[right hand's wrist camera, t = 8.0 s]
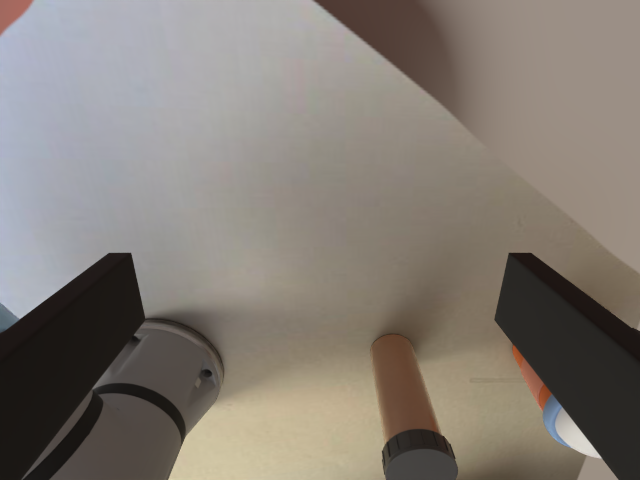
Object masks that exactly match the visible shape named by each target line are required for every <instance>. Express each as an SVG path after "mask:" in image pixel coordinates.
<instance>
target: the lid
mask: <svg viewBox="0 0 640 480" xmlns="http://www.w3.org/2000/svg"><path fill="white" fill-rule="evenodd" d="M382 457H383V459H382V462H383V469H384V475H385V477H386V480H456V478H457V474H458V467H457V464H456V461H455V456H454V453H453V450H452V447H451V444H449V442H448V441H447V440H446V438H445V437H444V436H442V435H441V434H439V433H437V432H435V431H432V430H428V429H410V430H406V431H403V432H400V433H398V434H396V435H395V436H393V437H392V438H390V439H389V440H388V441H387V442H386V444H385V446H384V448H383V451H382Z"/></svg>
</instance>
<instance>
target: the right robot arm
mask: <svg viewBox="0 0 640 480" xmlns="http://www.w3.org/2000/svg"><path fill="white" fill-rule="evenodd" d="M495 321H496V323H497V324H498V325H499V326H500V328H501V329H502V330H503V332H504V333H505V334H506V335H507V337H508V338H509V339H510V341H511V342H512V343H513V344H514V346H515V347H516V348H517V350H518V351H519V352H520V353H521V355H522V356H523V357H524V359H525V360H526V361H527V362H528V364H529V365H530V366H531V368H532V369H533V370H534V371H535V373H536V374H537V375H538V377H539V378H540V379H541V380H542V382H543V383H544V384H545V386H546V387H547V388H548V389H549V391H550V392H551V393H552V395H553V396H554V397H555V398H556V400H557V401H558V402H559V404H560V405H561V406H562V407H563V409H564V410H565V411H566V413H567V414H568V415H569V416H570V418H571V419H572V420H573V422H574V423H575V424H576V425H577V427H578V428H579V429H580V431H581V432H582V433H583V434H584V436H585V437H586V438H587V440H588V441H589V442H590V443H591V445H592V446H593V447H594V449H595V450H596V451H597V452H598V454H599V455H600V456H601V458H602V459H603V460H604V461H605V463H606V464H607V465H608V467H609V468H610V469H611V471H612V472H613V473H614V474H615V476H616V477H617V478H618V480H640V331H638V330H636V329H634V328H631V327H629V326H628V325H627V324H625V323H624V322H623V321H621V320H620V319H619V318H617V317H616V316H615V315H613V314H612V313H611V312H609V311H608V310H607V309H605V308H604V307H603V306H601V305H600V304H599V303H597V302H596V301H595V300H593V299H592V298H591V297H589V296H588V295H587V294H585V293H584V292H583V291H581V290H580V289H579V288H577V287H576V286H575V285H573V284H572V283H571V282H569V281H568V280H567V279H565V278H564V277H563V276H561V275H560V274H559V273H557V272H556V271H554V270H553V269H552V268H550V267H549V266H548V265H546V264H545V263H544V262H542V261H541V260H540V259H538V258H537V257H536V256H534V255H533V254H532V253H509V255H508V259H507V264H506V269H505V273H504V278H503V283H502V287H501V292H500V296H499V301H498V306H497V310H496V315H495ZM222 382H223V366H222V362H221V359H220V357H219V355H218V353H217V352H216V350H215V349H214V347H213V346H212V345H211V344H210V343H209V342H208V341H207V340H206V339H205V338H204V337H203V336H201V335H200V334H199V333H197V332H196V331H194V330H192V329H190V328H188V327H186V326H184V325H181V324H178V323H175V322H171V321H166V320H158V319H150V320H145V315H144V310H143V306H142V301H141V296H140V292H139V287H138V283H137V278H136V273H135V269H134V264H133V259H132V255H131V253H108V254H107V255H106V256H104V257H103V258H102V259H100V260H99V261H98V262H96V263H95V264H94V265H92V266H91V267H90V268H88V269H87V270H86V271H84V272H83V273H81V274H80V275H79V276H77V277H76V278H75V279H73V280H72V281H71V282H69V283H68V284H67V285H65V286H64V287H63V288H61V289H60V290H59V291H57V292H56V293H55V294H53V295H52V296H51V297H49V298H48V299H47V300H45V301H44V302H43V303H41V304H40V305H39V306H37V307H36V308H35V309H33V310H32V311H31V312H29V313H28V314H27V315H25V316H24V317H23V318H21V319H18V318H17V317H16V316H15V315H14V314H13V313H12V312H10V311H9V310H8V309H7V308H6V307H5V306H3V305H2V304H1V303H0V480H168V479H169V476H170V474H171V471H172V469H173V466H174V464H175V461H176V459H177V456H178V454H179V451H180V448H181V446H182V444H183V441H184V439H185V437H186V435H187V434H188V433H189V432H190V431H191V429H192V428H193V427H194V426H195V425H196V424H197V422H198V421H199V420H200V419H201V418H202V417H203V415H204V414H205V413H206V412H207V411H208V410H209V408H210V407H211V406H212V405H213V404H214V402H215V400H216V399H217V396H218V394H219V391H220V388H221V385H222Z"/></svg>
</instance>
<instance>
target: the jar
mask: <svg viewBox="0 0 640 480" xmlns="http://www.w3.org/2000/svg"><path fill="white" fill-rule="evenodd" d="M370 357H371V363H372V369H373V375H374V382H375V388H376V394H377V400H378V406H379V413H380V419H381V425H382V431H383V437H384V444H386V442H387V441H388V440H389V439H390V438H392V437H393V436H395V435H396V434H398V433H400V432H403V431H406V430H410V429H428V430H432V431H435V432H437V433H439V434H441V435H442V433H441V430H440V427H439V424H438V421H437V418H436V415H435V412H434V409H433V406H432V403H431V400H430V397H429V394H428V391H427V388H426V385H425V382H424V379H423V376H422V373H421V370H420V367H419V364H418V361H417V358H416V355H415V352H414V349H413V346H412V344H411V342H410V341H409V340H408V339H407V338H405V337H403V336H401V335H396V334H389V335H385V336H382V337H380V338H379V339H377V340H376V341H375V342H374V343H373V345H372V346H371V349H370Z"/></svg>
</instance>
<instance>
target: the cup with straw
mask: <svg viewBox="0 0 640 480" xmlns="http://www.w3.org/2000/svg"><path fill="white" fill-rule="evenodd" d="M513 355H514V357H515V359H516V361H517V363H518V365H519V367H520V368H521V372H522V375H523V377H524V379H525V381H526V383H527V385H528V387H529V389H530V390H531V392H532V394H533V396H534V398H535V400H536V402H537V403H538V405H539V407H540V409H541V410H542V411H543V421H544V424H545V427H546V429H547V431H548V432H549V433H550V435H551V436H552V437H553V438H554V439H555V440H557V441H558V442H559V443H561V444H563V445H565V446H567V447H570V448H573V449H575V450H577V451H578V452H580V453H583V454H585V455H588V456H591V457H595V458H600V459H602V458H601V456H600V455H599V454H598V452H597V451H596V450H595V449H594V447H593V446H592V445H591V443H590V442H589V441H588V440H587V438H586V437H585V436H584V434H583V433H582V432H581V431H580V429H579V428H578V427H577V425H576V424H575V423H574V422H573V420H572V419H571V418H570V416H569V415H568V414H567V413H566V411H565V410H564V409H563V407H562V406H561V405H560V404H559V402H558V401H557V400H556V398H555V397H554V396H553V395H552V393H551V392H550V391H549V389H548V388H547V387H546V386H545V384H544V383H543V382H542V380H541V379H540V378H539V377H538V375H537V374H536V373H535V371H534V370H533V369H532V368H531V366H530V365H529V364H528V362H527V361H526V360H525V359H524V357H523V356H522V355H521V353H520V352H519V351H518V350H517V348H516V347H515V346H514V345H513Z"/></svg>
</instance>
